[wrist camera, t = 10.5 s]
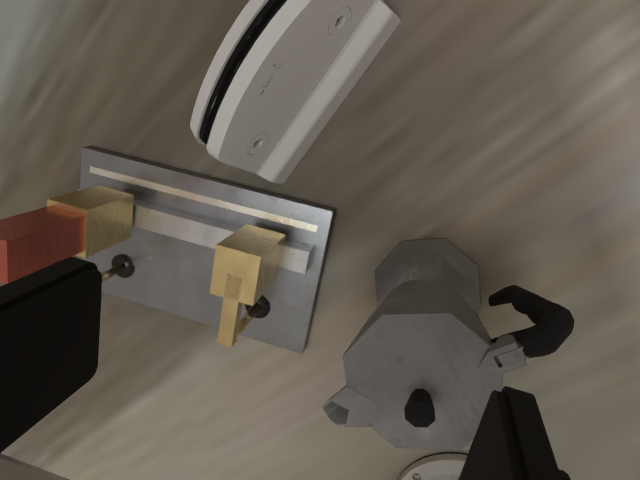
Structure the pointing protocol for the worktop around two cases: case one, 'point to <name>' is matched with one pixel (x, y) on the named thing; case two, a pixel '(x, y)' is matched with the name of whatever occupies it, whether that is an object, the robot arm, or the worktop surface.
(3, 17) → the worktop surface
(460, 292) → the coffeepot
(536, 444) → the robot arm
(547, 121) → the worktop surface
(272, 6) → the grey stapler
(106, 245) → the block
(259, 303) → the gauge plate
